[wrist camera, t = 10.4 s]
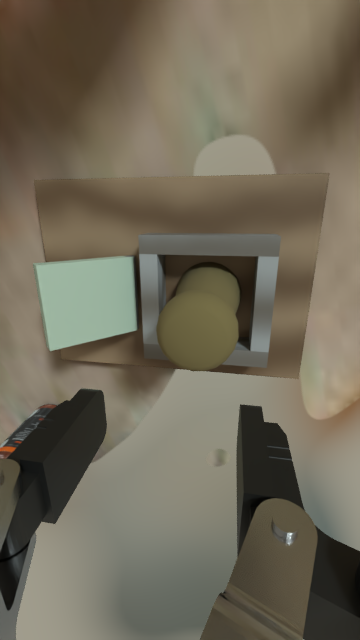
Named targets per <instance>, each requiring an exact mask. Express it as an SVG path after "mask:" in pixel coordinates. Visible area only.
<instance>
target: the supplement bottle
mask: <svg viewBox="0 0 360 640" xmlns="http://www.w3.org/2000/svg"><path fill="white" fill-rule="evenodd" d="M54 407H56V405H50V404H48V405H43V406H41V407H39V408H38V409H37V410H36V411H34V412H33V413H32V414H31V415H30V416H29V417H28V418H27V419H26V420H25V421H24V422H23V423H22V424H21V425H20V426H19V427H18V428H17V429H16V430H15V431H14V432H13V433H12V434H11V435H10V436H9V437H8V438H7V439H6V440H5V442H3V443H2V444H1V445H0V459H6V458H7V457H8V456H9V455H10V454H11V453H12V452H13V451H14V450H15V449H16V448H17V447H18V446H19V444H20V443H21V442H22V441H23V440H24V439H25V438H26V437H27V436H28V435H29V434H30V433H31V432H32V431H33V429H34V428H36V427H37V425H38V424H39V423H40V422H41V421H42V420H44V418H45V417H46V415H47V414H48V413H49V412H50V411H51V410H52V409H53V408H54Z"/></svg>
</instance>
